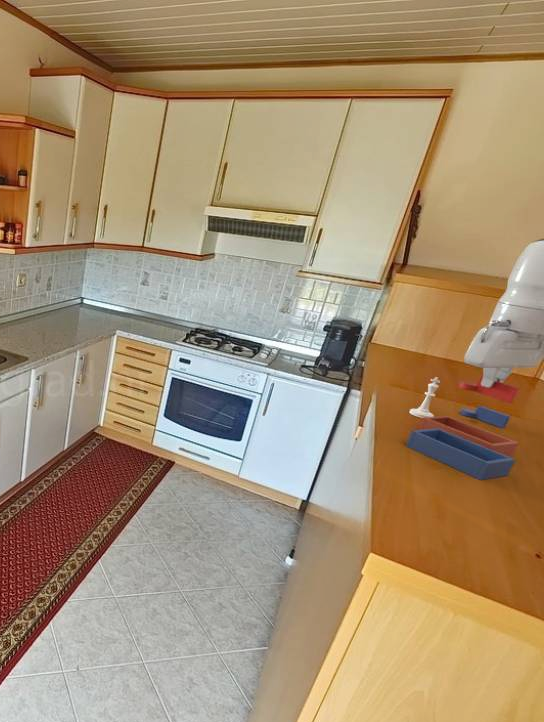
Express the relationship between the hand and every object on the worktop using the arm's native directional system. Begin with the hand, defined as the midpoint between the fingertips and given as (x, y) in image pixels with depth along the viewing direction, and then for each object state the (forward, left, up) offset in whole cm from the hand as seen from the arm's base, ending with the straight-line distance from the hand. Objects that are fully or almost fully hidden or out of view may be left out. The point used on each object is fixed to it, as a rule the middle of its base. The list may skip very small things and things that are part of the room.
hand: (490, 386), depth 101 cm
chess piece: (+14, -9, -14) cm, 21 cm away
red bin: (0, 0, -13) cm, 14 cm away
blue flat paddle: (+10, -25, -13) cm, 30 cm away
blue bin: (-5, +12, -13) cm, 19 cm away
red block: (+1, 0, -2) cm, 2 cm away
